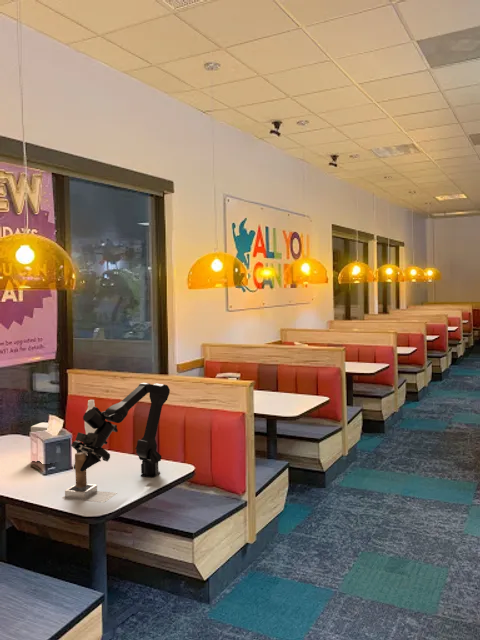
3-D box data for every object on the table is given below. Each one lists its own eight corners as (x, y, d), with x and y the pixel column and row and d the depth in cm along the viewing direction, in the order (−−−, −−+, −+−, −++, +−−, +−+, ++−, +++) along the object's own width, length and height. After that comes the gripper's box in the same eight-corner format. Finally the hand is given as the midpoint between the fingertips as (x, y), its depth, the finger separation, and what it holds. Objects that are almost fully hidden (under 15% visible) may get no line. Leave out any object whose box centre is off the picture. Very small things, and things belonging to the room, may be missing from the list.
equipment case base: (117, 496, 217) (117, 492, 217) (104, 506, 208) (104, 502, 208) (76, 492, 222) (76, 488, 222) (61, 501, 213) (61, 498, 213)
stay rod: (87, 483, 219) (86, 452, 218) (85, 487, 215) (84, 455, 214) (76, 484, 218) (75, 452, 217) (75, 488, 214) (73, 455, 213)
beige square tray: (97, 491, 219) (97, 484, 219) (85, 499, 211) (84, 492, 211) (77, 489, 222) (77, 483, 222) (65, 497, 214) (64, 490, 213)
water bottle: (102, 448, 284) (101, 399, 283) (94, 452, 278) (93, 402, 276) (90, 447, 287) (89, 398, 286) (82, 451, 280) (80, 401, 279)
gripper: (74, 420, 224) (50, 454, 216) (102, 427, 212) (78, 463, 204) (91, 435, 231) (69, 469, 223) (120, 443, 218) (97, 479, 211)
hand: (77, 470), depth 215 cm, fingers closed on stay rod, 4 cm apart
